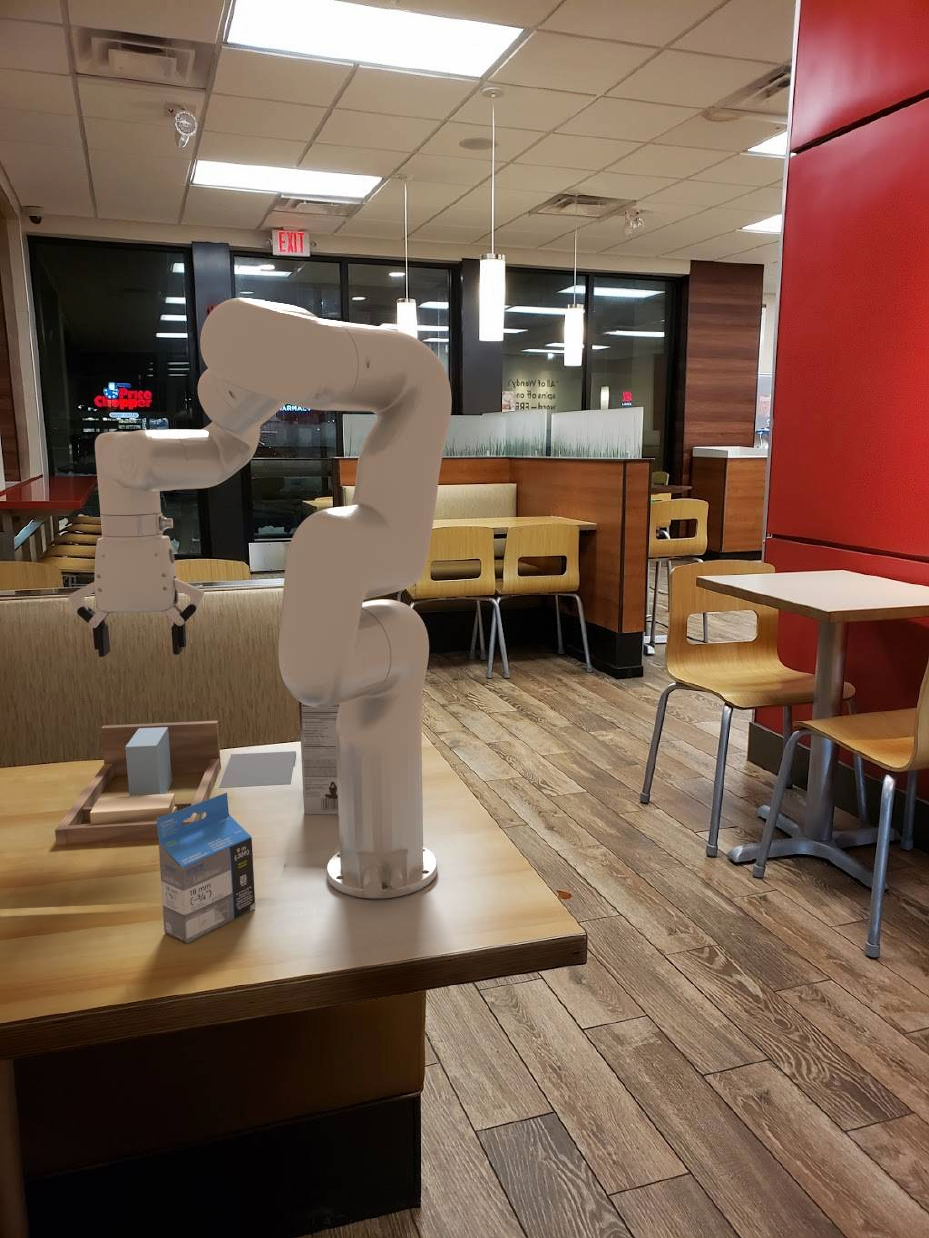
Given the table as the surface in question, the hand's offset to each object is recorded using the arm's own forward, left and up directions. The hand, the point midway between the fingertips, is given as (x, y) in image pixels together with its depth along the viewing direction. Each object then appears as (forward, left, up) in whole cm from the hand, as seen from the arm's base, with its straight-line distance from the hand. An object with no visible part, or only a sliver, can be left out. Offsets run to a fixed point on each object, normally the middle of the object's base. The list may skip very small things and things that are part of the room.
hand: (141, 653), depth 123 cm
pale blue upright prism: (0, 0, -21) cm, 21 cm away
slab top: (-11, 0, -18) cm, 21 cm away
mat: (+8, -14, -21) cm, 26 cm away
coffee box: (-5, -25, -21) cm, 33 cm away
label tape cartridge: (-35, -13, -21) cm, 43 cm away
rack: (-3, 0, -21) cm, 21 cm away
